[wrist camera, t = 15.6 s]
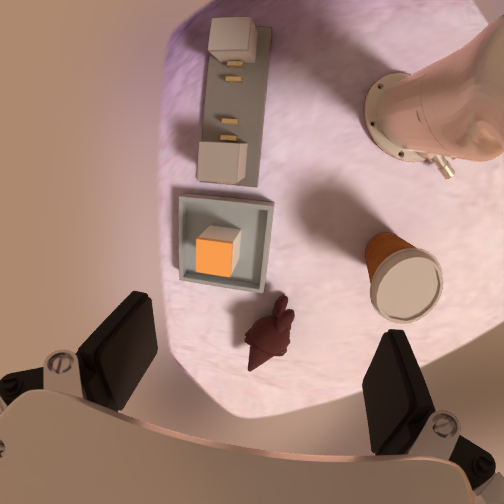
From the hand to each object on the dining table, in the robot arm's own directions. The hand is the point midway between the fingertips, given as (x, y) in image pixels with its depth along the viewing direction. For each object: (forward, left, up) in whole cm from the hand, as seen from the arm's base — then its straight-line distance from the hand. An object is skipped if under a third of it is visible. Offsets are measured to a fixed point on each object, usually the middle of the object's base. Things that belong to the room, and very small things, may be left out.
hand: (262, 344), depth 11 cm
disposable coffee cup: (-16, -4, -31) cm, 35 cm away
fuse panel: (+14, -5, -30) cm, 34 cm away
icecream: (-13, +18, -31) cm, 38 cm away
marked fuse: (+2, +11, -30) cm, 32 cm away
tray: (+2, +11, -30) cm, 32 cm away
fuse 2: (+9, +2, -29) cm, 31 cm away
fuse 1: (+19, -11, -29) cm, 37 cm away
